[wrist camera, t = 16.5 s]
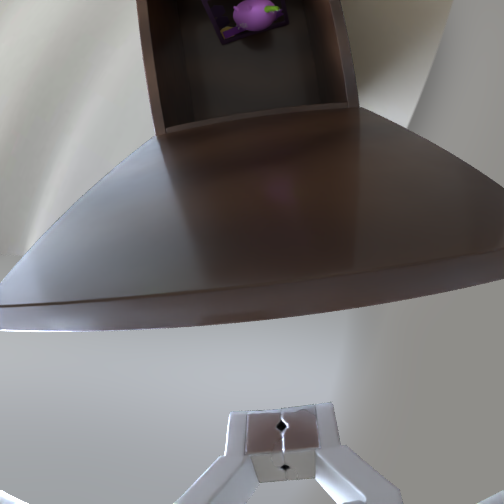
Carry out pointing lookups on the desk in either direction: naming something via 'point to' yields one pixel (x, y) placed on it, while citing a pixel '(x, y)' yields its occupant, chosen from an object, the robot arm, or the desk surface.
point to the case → (243, 63)
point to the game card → (246, 18)
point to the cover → (261, 228)
